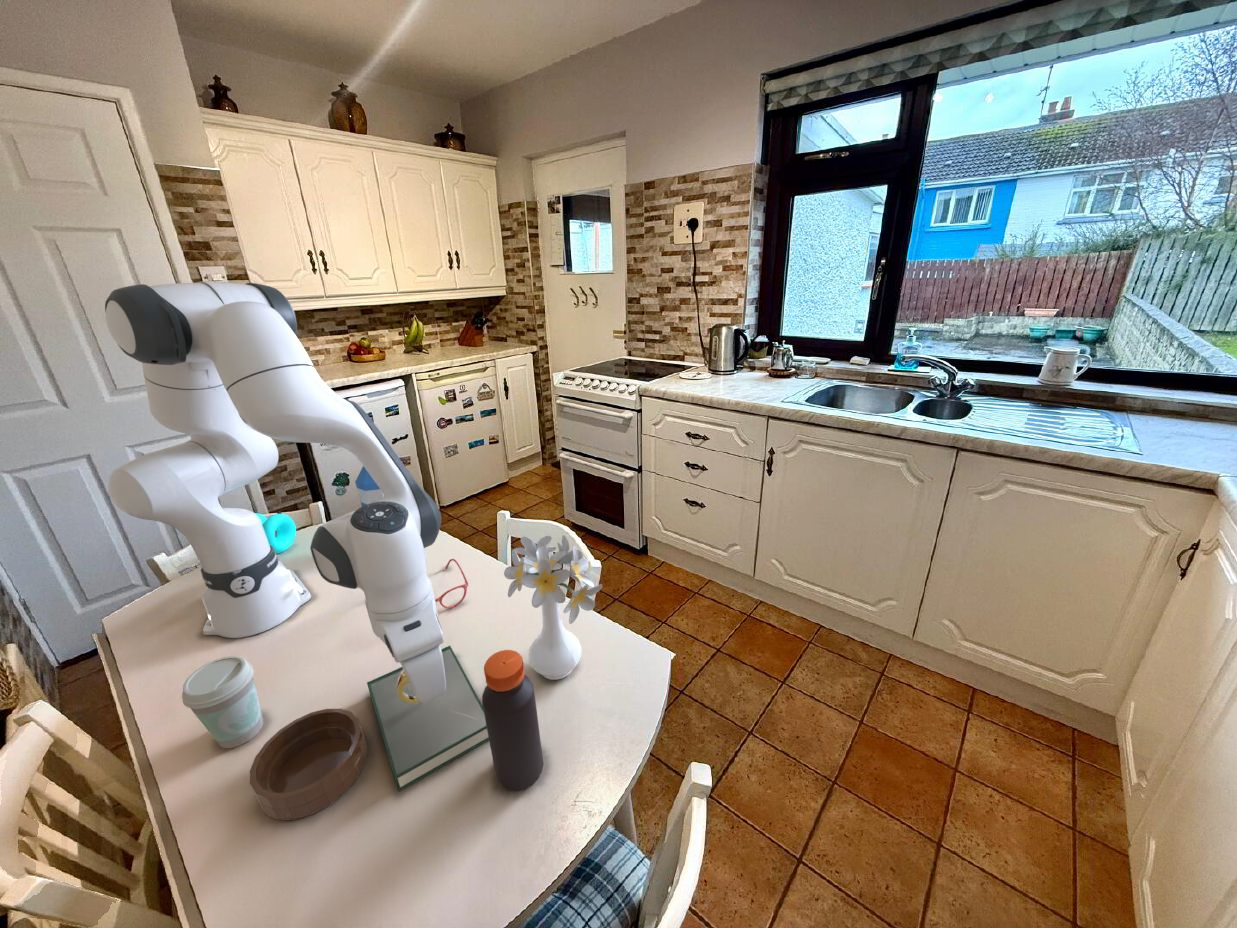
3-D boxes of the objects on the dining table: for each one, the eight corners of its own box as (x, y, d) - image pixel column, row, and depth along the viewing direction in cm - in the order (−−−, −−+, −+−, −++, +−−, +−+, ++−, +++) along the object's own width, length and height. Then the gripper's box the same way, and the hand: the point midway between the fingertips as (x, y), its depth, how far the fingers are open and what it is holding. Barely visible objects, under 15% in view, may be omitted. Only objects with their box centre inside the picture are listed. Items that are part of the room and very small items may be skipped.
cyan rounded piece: (268, 538, 131) (257, 506, 127) (303, 540, 130) (292, 507, 126) (238, 560, 122) (224, 525, 118) (275, 561, 121) (262, 526, 117)
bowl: (260, 763, 71) (249, 740, 69) (359, 716, 78) (352, 693, 77) (262, 845, 61) (249, 820, 59) (376, 782, 68) (368, 758, 66)
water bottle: (365, 553, 123) (340, 462, 113) (387, 533, 132) (365, 448, 122) (398, 555, 122) (376, 464, 112) (418, 536, 130) (399, 449, 120)
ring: (403, 716, 74) (392, 677, 71) (401, 700, 77) (390, 662, 74) (450, 697, 77) (441, 659, 74) (446, 683, 80) (438, 646, 77)
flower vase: (576, 718, 77) (566, 590, 67) (498, 667, 87) (479, 549, 77) (623, 666, 87) (620, 547, 77) (548, 625, 97) (536, 516, 87)
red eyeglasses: (396, 636, 95) (390, 616, 93) (374, 596, 107) (369, 577, 105) (479, 598, 105) (475, 579, 103) (451, 566, 117) (447, 548, 115)
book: (370, 695, 82) (366, 682, 81) (452, 657, 90) (450, 645, 88) (398, 791, 67) (394, 777, 66) (494, 736, 74) (492, 723, 73)
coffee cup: (222, 767, 71) (191, 708, 66) (197, 740, 75) (167, 682, 71) (284, 723, 78) (260, 666, 73) (258, 700, 82) (234, 645, 77)
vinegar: (517, 739, 74) (501, 637, 66) (553, 759, 71) (541, 655, 63) (485, 777, 69) (464, 671, 61) (522, 801, 65) (505, 693, 58)
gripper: (366, 582, 76) (385, 650, 82) (396, 662, 61) (417, 739, 66) (408, 568, 80) (423, 633, 85) (446, 640, 64) (462, 715, 70)
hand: (421, 680), depth 75 cm, fingers closed on ring, 2 cm apart
